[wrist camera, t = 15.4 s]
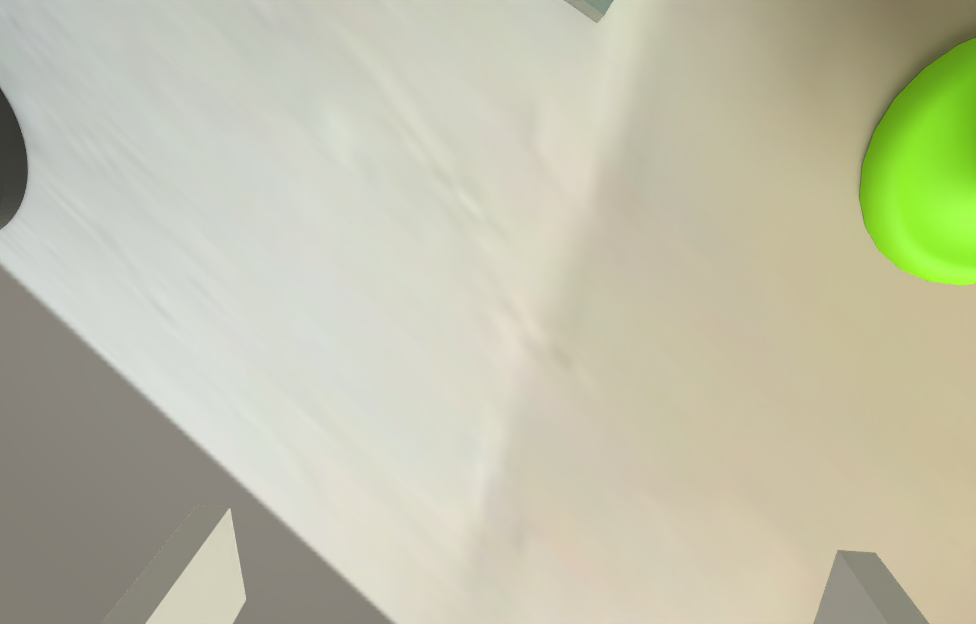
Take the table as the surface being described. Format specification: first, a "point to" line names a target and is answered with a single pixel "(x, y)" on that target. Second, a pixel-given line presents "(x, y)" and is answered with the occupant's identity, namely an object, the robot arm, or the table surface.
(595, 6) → the holder
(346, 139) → the table surface
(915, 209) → the wineglass
